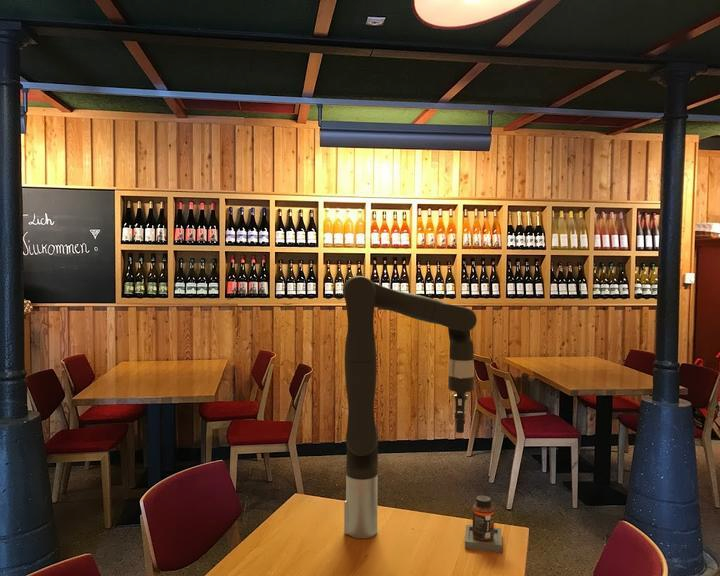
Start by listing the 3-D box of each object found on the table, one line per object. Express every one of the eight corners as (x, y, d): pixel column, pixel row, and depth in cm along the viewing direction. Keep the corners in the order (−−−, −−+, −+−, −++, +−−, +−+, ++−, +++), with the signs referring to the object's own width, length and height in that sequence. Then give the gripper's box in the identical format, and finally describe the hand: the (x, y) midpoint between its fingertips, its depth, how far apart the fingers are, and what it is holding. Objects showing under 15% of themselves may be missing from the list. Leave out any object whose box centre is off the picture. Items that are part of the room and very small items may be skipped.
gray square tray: (464, 548, 154) (464, 541, 154) (466, 531, 164) (466, 524, 163) (501, 552, 152) (502, 545, 152) (500, 535, 161) (501, 528, 161)
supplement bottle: (494, 543, 154) (494, 503, 154) (472, 541, 155) (472, 501, 155) (493, 533, 160) (494, 494, 159) (472, 531, 161) (472, 493, 161)
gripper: (449, 369, 172) (449, 420, 172) (446, 378, 158) (446, 434, 158) (474, 370, 170) (473, 422, 171) (473, 379, 156) (472, 436, 157)
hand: (460, 428), depth 165 cm, fingers open, 8 cm apart
